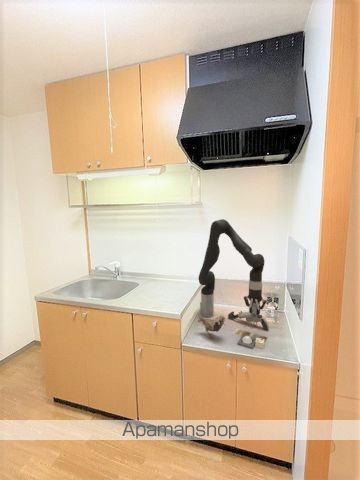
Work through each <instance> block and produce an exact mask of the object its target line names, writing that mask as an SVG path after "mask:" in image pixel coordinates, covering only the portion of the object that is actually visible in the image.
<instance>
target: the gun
mask: <svg viewBox="0 0 360 480" xmlns="http://www.w3.org/2000/svg"><path fill="white" fill-rule="evenodd" d="M227 319H228V320H231V321H234V322H235V320H237V319H240V320H241V319H245V321H246V322H247V323H250V325H251V326H253V327H256V326H257V325H258V323H261V326H262V329H263V331H267V332H268V331H269V329H270V327H269V323H268V321H267V320H266V318H265V317H263V315H262V314H259V315H258V316H257V317H253V316H251V314H250V312H249V311H245V312H243V311H242V310H240V311H239V312H238V313H237V314H235V311H231V312H230V313H228V315H227Z"/></svg>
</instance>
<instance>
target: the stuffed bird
mask: <svg viewBox="0 0 360 480" xmlns="http://www.w3.org/2000/svg"><path fill="white" fill-rule="evenodd" d="M225 321H226V316H225V315H223V314H220V315H219V316H216V317H215V318H213V319H212V318H203V317H200V316H198V319H197V322H198V323H199V324H201V325H203V326H204V328H205V332H206V333H207V335H208V337H209V339H210V340H211V339H215V338H214V337H212V333H210V332H216V333H217V332H219V331H220V330H221V329H222V326H223V325H224V326H226V324H225V323H224V322H225Z"/></svg>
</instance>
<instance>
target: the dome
mask: <svg viewBox="0 0 360 480" xmlns="http://www.w3.org/2000/svg"><path fill="white" fill-rule="evenodd" d="M242 343H244V344H248V345H251V344H252V339H251V338H250V337H249V336H245V337H243V341H242Z"/></svg>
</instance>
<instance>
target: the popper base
mask: <svg viewBox="0 0 360 480" xmlns="http://www.w3.org/2000/svg"><path fill="white" fill-rule="evenodd" d="M243 337H245V336H242V335H241V337H240V338H239V340H238V341H237V343H236V345H238V346H240V347H244V348H247V349H250V350H253V349H254V347H255V342H256V339H253V338H251V339H252V344H251V345H248V344H244V343H243Z"/></svg>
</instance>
